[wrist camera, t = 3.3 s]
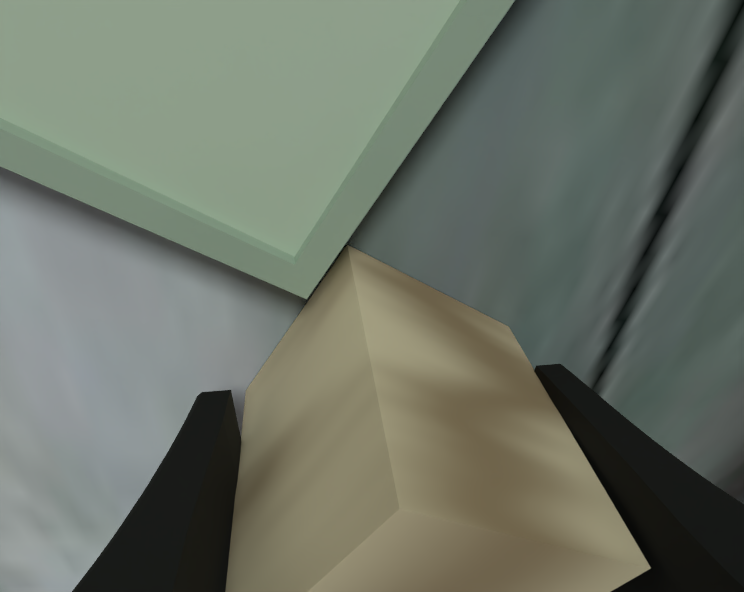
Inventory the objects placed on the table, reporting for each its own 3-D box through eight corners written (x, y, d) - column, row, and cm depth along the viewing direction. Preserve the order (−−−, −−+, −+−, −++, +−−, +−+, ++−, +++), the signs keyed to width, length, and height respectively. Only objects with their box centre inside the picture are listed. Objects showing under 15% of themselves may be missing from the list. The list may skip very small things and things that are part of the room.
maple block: (508, 326, 12) (651, 568, 7) (398, 438, 14) (452, 681, 9) (347, 244, 10) (399, 508, 5) (245, 390, 12) (217, 673, 7)
